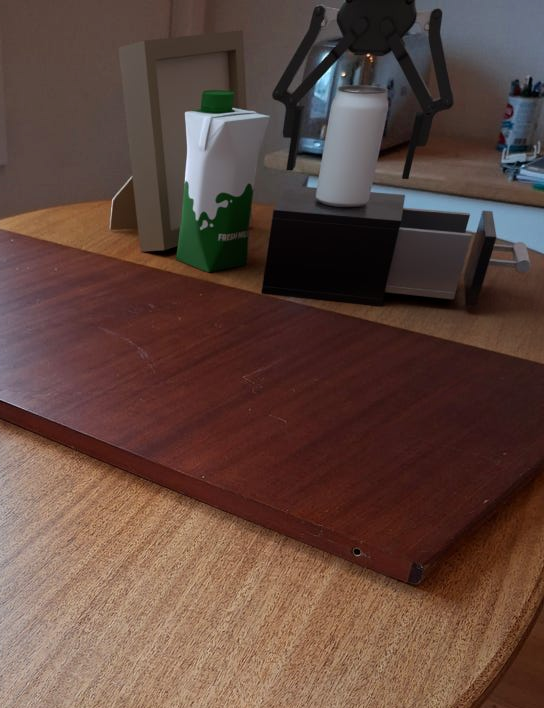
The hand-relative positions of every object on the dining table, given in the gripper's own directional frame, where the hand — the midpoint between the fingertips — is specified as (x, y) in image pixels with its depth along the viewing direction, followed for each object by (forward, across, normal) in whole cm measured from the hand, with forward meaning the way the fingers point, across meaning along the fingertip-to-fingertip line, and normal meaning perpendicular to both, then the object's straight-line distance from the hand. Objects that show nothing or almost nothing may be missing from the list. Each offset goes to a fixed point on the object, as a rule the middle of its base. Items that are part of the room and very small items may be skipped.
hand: (347, 172), depth 107 cm
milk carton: (+13, +16, -4) cm, 21 cm away
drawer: (+12, -14, 0) cm, 18 cm away
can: (+3, 0, 0) cm, 3 cm away
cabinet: (+13, 0, 0) cm, 13 cm away
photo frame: (+13, +25, -17) cm, 33 cm away
